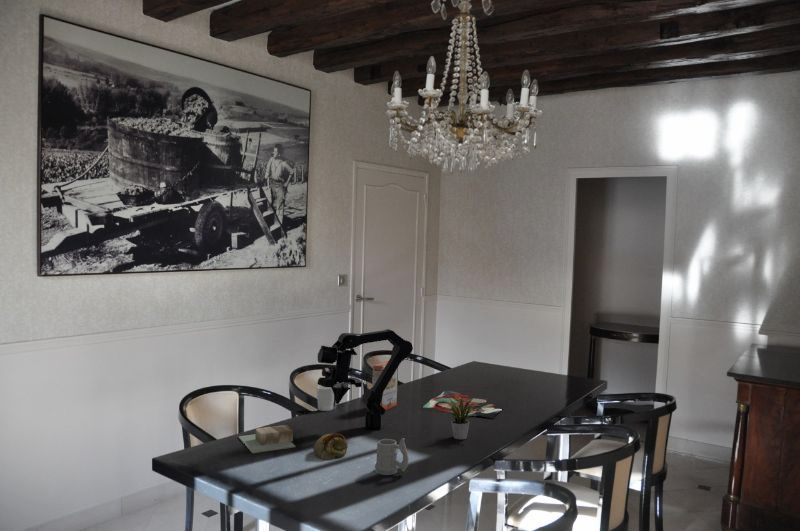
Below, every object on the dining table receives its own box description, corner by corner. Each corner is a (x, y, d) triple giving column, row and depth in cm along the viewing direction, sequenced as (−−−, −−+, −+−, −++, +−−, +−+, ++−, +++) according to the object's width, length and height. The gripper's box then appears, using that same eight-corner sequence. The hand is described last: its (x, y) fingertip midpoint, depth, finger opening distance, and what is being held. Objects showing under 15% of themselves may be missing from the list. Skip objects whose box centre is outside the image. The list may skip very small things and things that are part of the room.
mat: (279, 432, 246) (279, 431, 246) (295, 447, 228) (295, 445, 228) (238, 437, 238) (238, 436, 238) (252, 453, 220) (252, 452, 220)
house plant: (485, 434, 247) (485, 393, 247) (477, 444, 234) (478, 401, 234) (450, 430, 252) (451, 390, 252) (441, 440, 239) (442, 398, 239)
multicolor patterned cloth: (418, 410, 283) (418, 406, 283) (444, 394, 315) (444, 391, 315) (492, 420, 269) (492, 416, 269) (511, 402, 301) (511, 398, 301)
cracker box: (382, 412, 277) (383, 366, 276) (371, 411, 280) (371, 364, 279) (397, 406, 289) (398, 361, 289) (386, 404, 292) (387, 360, 291)
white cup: (331, 412, 277) (331, 389, 277) (314, 410, 279) (314, 388, 278) (336, 407, 285) (336, 385, 284) (320, 406, 286) (320, 384, 286)
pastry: (333, 462, 213) (334, 439, 213) (304, 456, 219) (305, 433, 219) (356, 451, 225) (356, 429, 225) (328, 445, 231) (328, 424, 231)
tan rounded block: (286, 424, 241) (255, 428, 235) (292, 430, 234) (261, 434, 228) (286, 435, 241) (255, 439, 235) (292, 440, 234) (261, 445, 228)
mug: (381, 465, 210) (382, 430, 210) (413, 472, 205) (413, 436, 205) (370, 472, 204) (371, 436, 203) (402, 479, 198) (403, 442, 198)
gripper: (348, 361, 260) (342, 398, 259) (312, 360, 247) (306, 399, 246) (365, 366, 252) (359, 405, 251) (329, 366, 239) (323, 406, 238)
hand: (336, 403), depth 247 cm, fingers closed
